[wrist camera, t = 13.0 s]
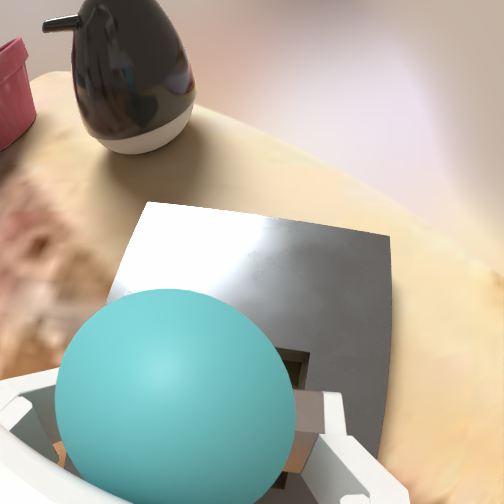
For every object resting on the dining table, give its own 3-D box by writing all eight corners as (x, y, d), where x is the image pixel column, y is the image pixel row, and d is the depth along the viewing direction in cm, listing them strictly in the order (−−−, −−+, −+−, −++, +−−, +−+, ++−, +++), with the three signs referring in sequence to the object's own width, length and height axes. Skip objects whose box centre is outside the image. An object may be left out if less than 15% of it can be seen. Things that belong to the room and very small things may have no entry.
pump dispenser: (90, 134, 26) (41, 10, 13) (179, 94, 29) (156, -33, 15) (108, 193, 22) (30, 21, 8) (222, 138, 24) (202, -37, 11)
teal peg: (173, 440, 11) (39, 465, 3) (192, 358, 13) (93, 269, 5) (263, 460, 10) (266, 549, 3) (280, 375, 12) (314, 310, 5)
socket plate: (85, 515, 10) (58, 525, 7) (161, 229, 20) (147, 201, 17) (322, 572, 8) (332, 596, 6) (373, 261, 18) (389, 236, 15)
